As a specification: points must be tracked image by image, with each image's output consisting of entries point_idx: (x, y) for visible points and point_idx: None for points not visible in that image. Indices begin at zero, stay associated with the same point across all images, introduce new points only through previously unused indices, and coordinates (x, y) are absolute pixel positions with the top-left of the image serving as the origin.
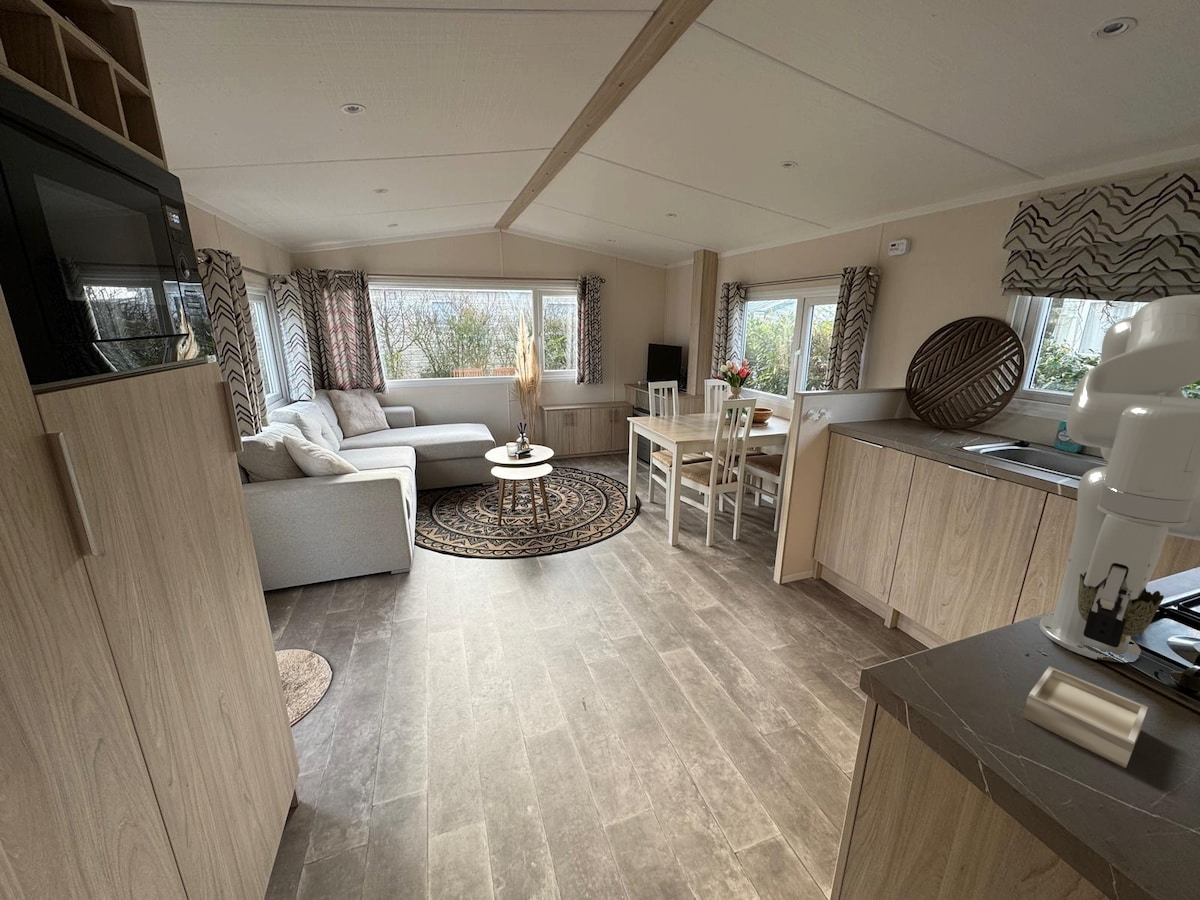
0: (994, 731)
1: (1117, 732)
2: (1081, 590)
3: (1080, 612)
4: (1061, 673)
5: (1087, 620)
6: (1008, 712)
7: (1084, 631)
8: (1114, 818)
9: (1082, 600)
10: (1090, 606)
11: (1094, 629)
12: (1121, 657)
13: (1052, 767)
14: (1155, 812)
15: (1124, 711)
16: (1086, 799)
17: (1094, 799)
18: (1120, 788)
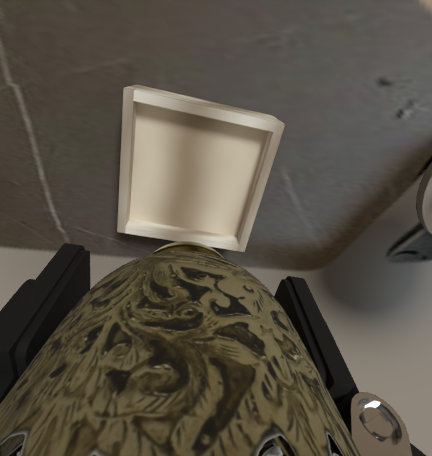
0: (42, 37)
1: (159, 213)
2: (72, 374)
3: (135, 262)
4: (268, 145)
5: (27, 290)
6: (130, 59)
7: (57, 252)
8: (7, 195)
9: (79, 322)
10: (45, 344)
11: (18, 295)
12: (429, 223)
13: (36, 131)
14: (67, 230)
15: (230, 223)
16: (10, 169)
17: (20, 177)
18: (77, 203)
